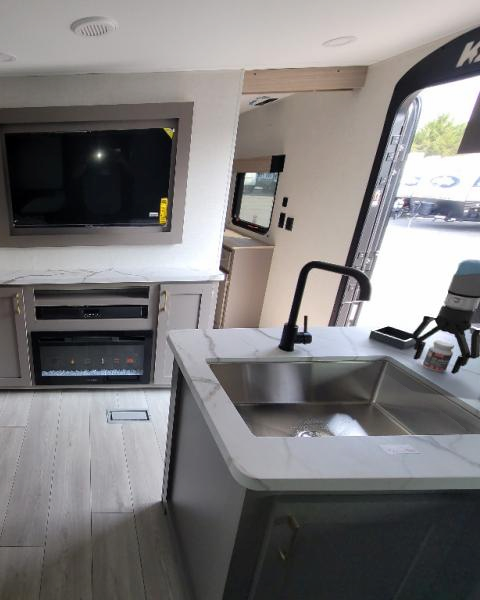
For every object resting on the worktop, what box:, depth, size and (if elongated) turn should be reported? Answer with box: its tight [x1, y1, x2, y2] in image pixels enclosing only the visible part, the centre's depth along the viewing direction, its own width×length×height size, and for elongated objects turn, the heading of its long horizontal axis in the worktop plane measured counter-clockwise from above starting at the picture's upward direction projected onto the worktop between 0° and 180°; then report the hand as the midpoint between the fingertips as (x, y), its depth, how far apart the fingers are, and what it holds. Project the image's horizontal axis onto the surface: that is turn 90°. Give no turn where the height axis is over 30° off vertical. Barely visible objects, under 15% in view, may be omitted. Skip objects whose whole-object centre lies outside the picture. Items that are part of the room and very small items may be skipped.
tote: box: [368, 324, 422, 351], centre depth 134 cm, size 11×11×4 cm
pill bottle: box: [422, 339, 455, 373], centre depth 114 cm, size 6×6×10 cm
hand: (434, 365), depth 115 cm, fingers open, 9 cm apart
